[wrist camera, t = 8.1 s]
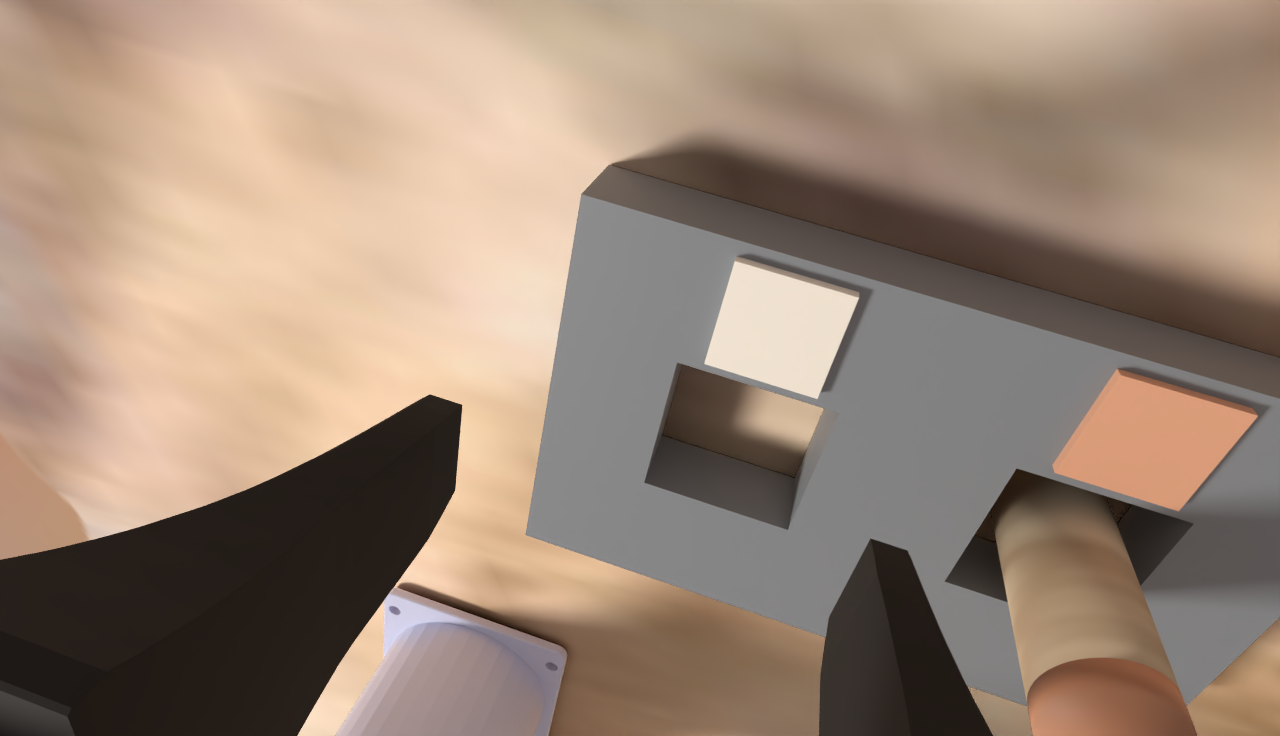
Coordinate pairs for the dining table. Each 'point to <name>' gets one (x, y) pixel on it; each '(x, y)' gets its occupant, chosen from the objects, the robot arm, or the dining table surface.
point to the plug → (1081, 617)
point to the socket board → (895, 427)
